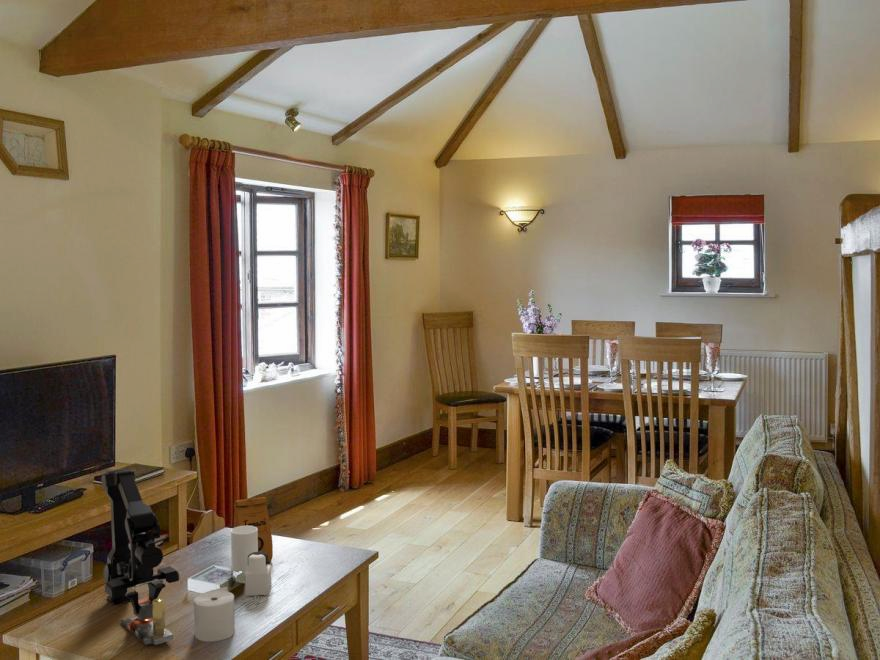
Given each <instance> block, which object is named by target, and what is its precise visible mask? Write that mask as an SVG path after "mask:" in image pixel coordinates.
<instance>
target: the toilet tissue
mask: <svg viewBox="0 0 880 660" xmlns="http://www.w3.org/2000/svg"><path fill="white" fill-rule="evenodd" d="M193 612H194V614H193V616H194V622H193V623H194V636H195V638H196V639H197V640H199V641H202V642H211V643H212V642H220V641H224V640H226V639H229V638H231V637H232V636H233V635H234V634H235V631H236V629H235V627H236V625H235V624H236V623H235V621H236V620H235V595H234V593H232V592H230V591H229V590H228V586H225V587H219V588H216V589H210V590H208V591H205V592H202V593H200V594H198V595H197V596H196V597H195V598H194V599H193Z"/></svg>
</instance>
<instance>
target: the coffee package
mask: <svg viewBox="0 0 880 660" xmlns="http://www.w3.org/2000/svg"><path fill="white" fill-rule="evenodd" d="M233 506H234V515H233V517H234V518H233V528H235V527H239V526H254V527H257V530H258V551H260V552H265V553H267V555H268V563H272V559H273V557H274V555H273V554H274V553H273V552H274V551H273V550H274V549H273V547H274V546H273V535H272V529H271V528H272V527H271V523H270V516H269V510H268V505H267V497H266V496H262V497H256V498H255V497H254V498H245V499H237V500H234V505H233Z"/></svg>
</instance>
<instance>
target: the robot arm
mask: <svg viewBox="0 0 880 660" xmlns="http://www.w3.org/2000/svg"><path fill="white" fill-rule="evenodd" d="M101 486H102V488H103V491H104V493H105V494H106V496H107V497H108V498H109V500H110V501H109V503H110V518H111V519H110V520H111V521H110V523H111V525H110V526H111V543H112V546H111V547H112V548H111V549H110V551H109V553H108V554H107V556H106V557H107V559H106V560H107V561H106V563H105V566H104V569H103V580H104V581H105V586H104V592H105V593H106V594H107V596H106V600H108V601H109V602H110V603H112V604H113V605H117V604H122V603H125V602H130V603H131V607H132V608H133V609H134V611H135V613H136V614H138V610H139V605H138V598H139V592H138V591H136V588H137V587H141V586H143V585H144V586H145V585H147V586H148V598H149V599H150V600H151V601H153V600H154V599H158V597H159V595H160V594H161V592H162V590H163V589H164V588H166V583H168V584H172V583H174V582H175V583H176V582H178V581H180V573H179V571H178V570H176V569H175V568H174V567H172V566H170V565H169V566H166V567H161V568H157V567H158V566H160V564H161V563H162V561H163V559H164V553H163V551H162V550H161V548H160V547H159V546H158V545H157V543H156V542H155V540H157V539H160V538H161V532H162V529H161V527H160V522H159V519H158V517H157V515H156V513H154V512H153V510H152V507H151V506H150V505H148V504H146V503H144V501H143V498H142V496H141V493H140V491H139V488H138V486H137V482H136V476H135V470H133V469H132V470H131V469H128V468H120V469H112V470H105V472H104V474H103V475H101ZM129 543H130V544H129ZM129 545H130V546H129ZM154 568H157V572H156V573H154ZM164 580H165V581H166V583H164Z"/></svg>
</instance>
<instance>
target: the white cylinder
mask: <svg viewBox="0 0 880 660" xmlns="http://www.w3.org/2000/svg"><path fill="white" fill-rule="evenodd" d="M230 541H231V542H230V545H231V549H230V550H231V572H232V571H235V572H239V571H242V572H243V573H244V580H245V572H246V570H247V567H248V555H249V554H251V553H253V552H258V530H257V527H254V526H239V527H235V528H234V527H233V528H231V530H230Z"/></svg>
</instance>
